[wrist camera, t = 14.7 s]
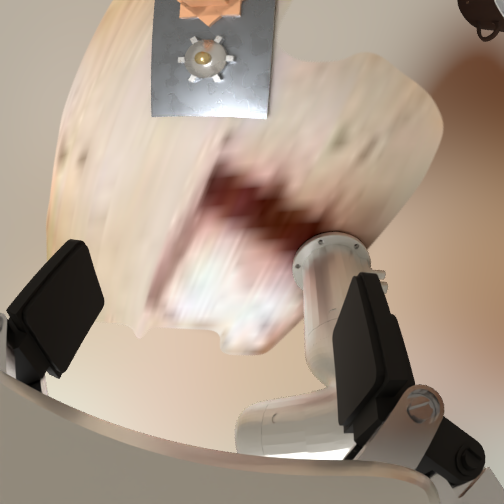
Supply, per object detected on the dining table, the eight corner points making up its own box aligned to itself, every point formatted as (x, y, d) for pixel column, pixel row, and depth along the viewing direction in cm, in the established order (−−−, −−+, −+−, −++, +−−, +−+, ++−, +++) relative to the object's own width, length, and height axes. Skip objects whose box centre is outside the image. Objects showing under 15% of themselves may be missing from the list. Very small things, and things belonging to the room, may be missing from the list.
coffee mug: (474, -19, 15) (512, -29, 7) (502, 29, 18) (544, 30, 10) (426, -6, 20) (463, -21, 11) (459, 47, 23) (502, 47, 15)
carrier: (278, -40, 21) (276, -62, 15) (267, 117, 34) (263, 125, 28) (163, -33, 22) (141, -48, 16) (156, 115, 34) (132, 124, 29)
